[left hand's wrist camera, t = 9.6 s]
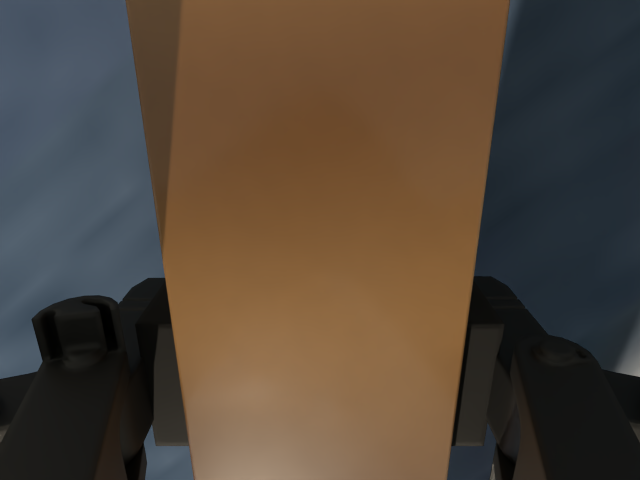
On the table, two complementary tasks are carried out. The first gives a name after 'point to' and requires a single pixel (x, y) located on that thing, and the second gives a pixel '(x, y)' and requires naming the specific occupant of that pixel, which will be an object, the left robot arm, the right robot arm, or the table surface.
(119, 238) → the table surface
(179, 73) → the beam
